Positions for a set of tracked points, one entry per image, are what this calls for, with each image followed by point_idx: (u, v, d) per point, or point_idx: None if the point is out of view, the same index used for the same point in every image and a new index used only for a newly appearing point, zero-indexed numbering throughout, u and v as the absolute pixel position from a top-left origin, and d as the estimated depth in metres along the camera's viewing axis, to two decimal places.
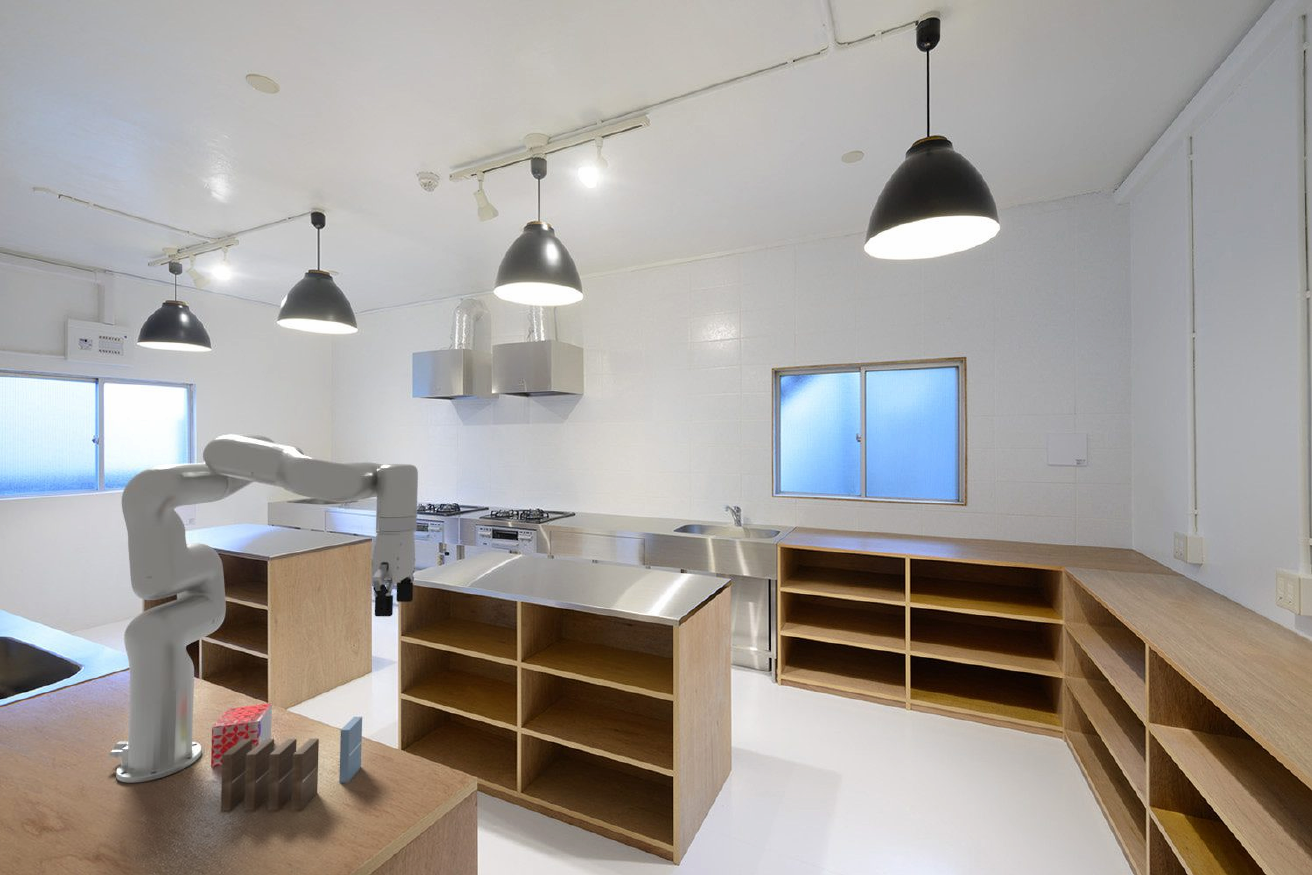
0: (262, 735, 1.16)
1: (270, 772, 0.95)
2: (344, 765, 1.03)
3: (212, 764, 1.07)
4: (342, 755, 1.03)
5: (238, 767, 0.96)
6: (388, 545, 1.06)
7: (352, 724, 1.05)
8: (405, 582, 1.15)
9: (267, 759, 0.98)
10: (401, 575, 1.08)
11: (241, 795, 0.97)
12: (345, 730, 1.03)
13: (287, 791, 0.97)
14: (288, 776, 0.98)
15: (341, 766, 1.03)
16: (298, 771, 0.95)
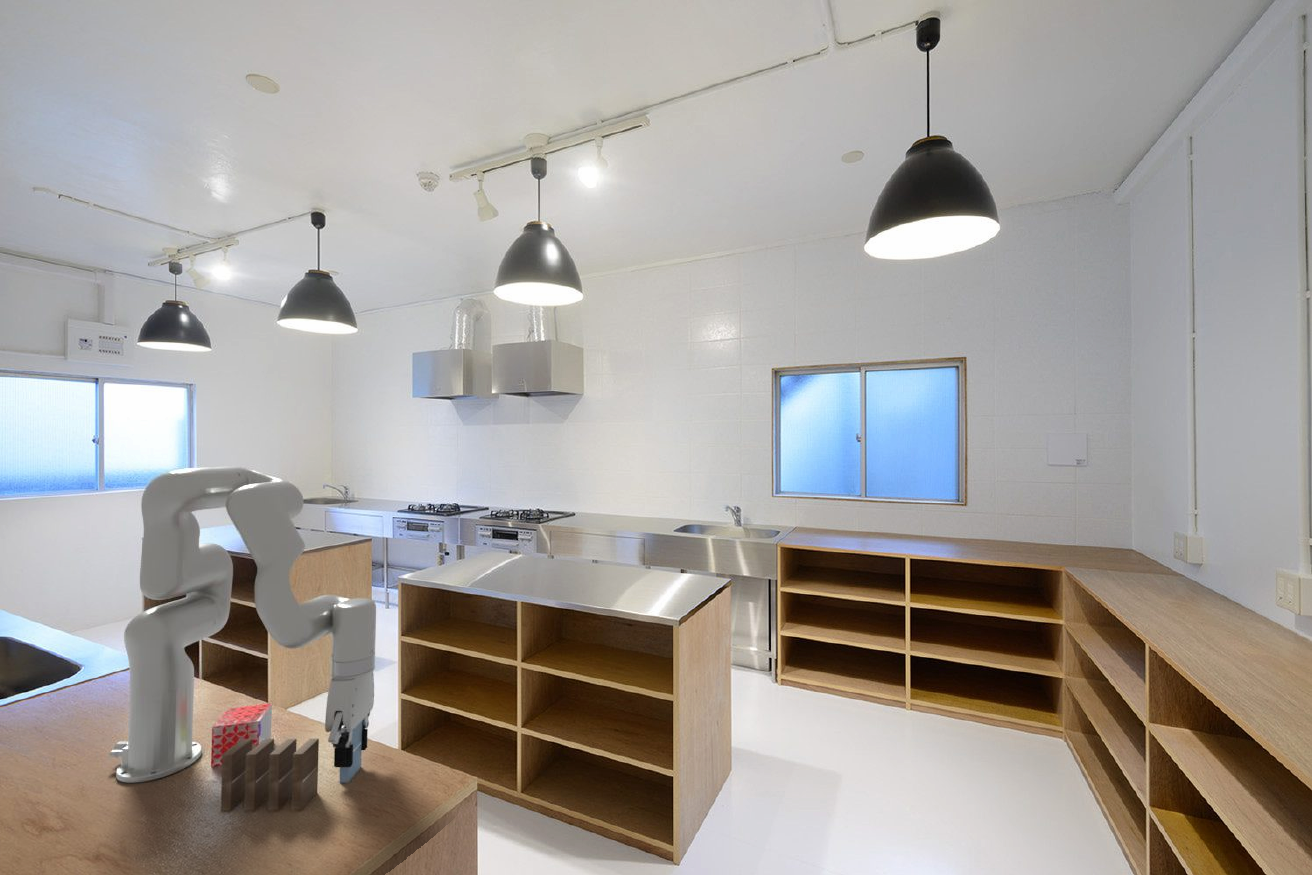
0: (262, 735, 1.16)
1: (270, 772, 0.95)
2: None
3: (212, 764, 1.07)
4: None
5: (238, 767, 0.96)
6: (342, 692, 1.01)
7: None
8: None
9: (267, 759, 0.98)
10: (357, 720, 1.04)
11: (241, 795, 0.97)
12: None
13: (287, 791, 0.97)
14: (288, 776, 0.98)
15: None
16: (298, 771, 0.95)
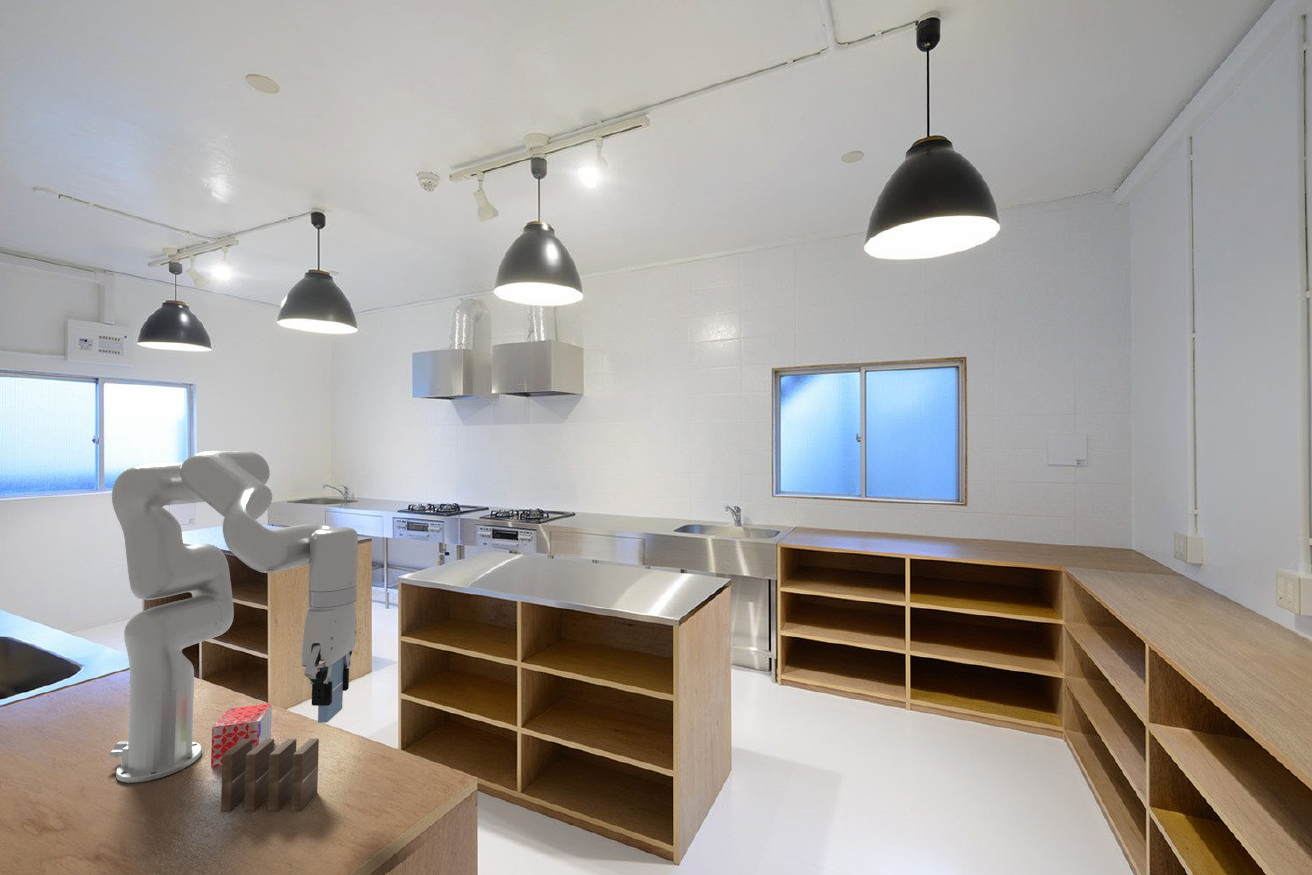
0: (262, 735, 1.16)
1: (270, 772, 0.95)
2: None
3: (212, 764, 1.07)
4: None
5: (238, 767, 0.96)
6: (320, 623, 0.93)
7: None
8: None
9: (267, 759, 0.98)
10: (337, 655, 0.96)
11: (241, 795, 0.97)
12: None
13: (287, 791, 0.97)
14: (288, 776, 0.98)
15: None
16: (298, 771, 0.95)
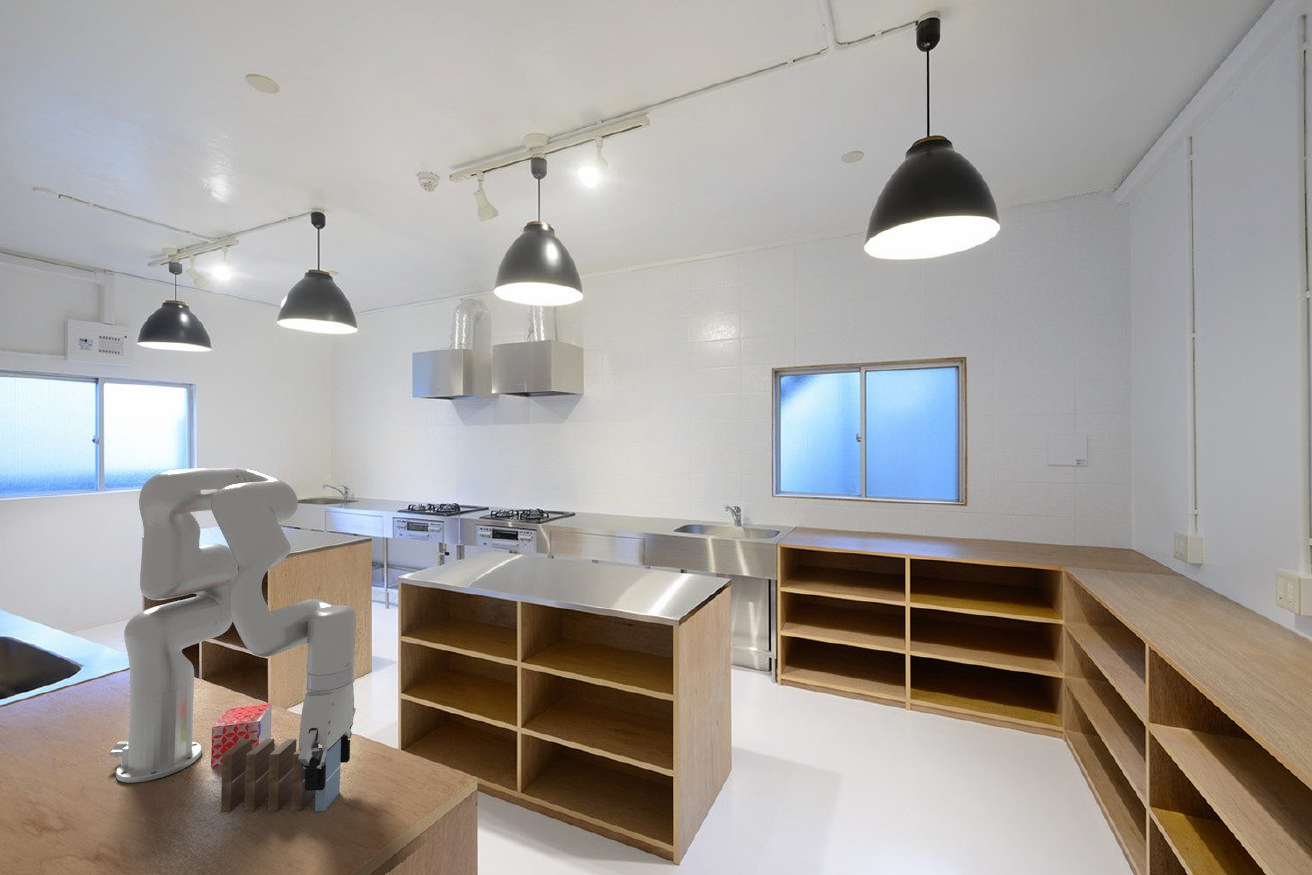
0: (262, 735, 1.16)
1: (270, 772, 0.95)
2: (321, 792, 0.95)
3: (212, 764, 1.07)
4: None
5: (238, 767, 0.96)
6: (318, 708, 0.93)
7: None
8: (341, 740, 1.02)
9: (267, 759, 0.98)
10: (334, 738, 0.96)
11: (241, 795, 0.97)
12: None
13: (287, 791, 0.97)
14: (288, 776, 0.98)
15: (317, 793, 0.95)
16: (298, 771, 0.95)
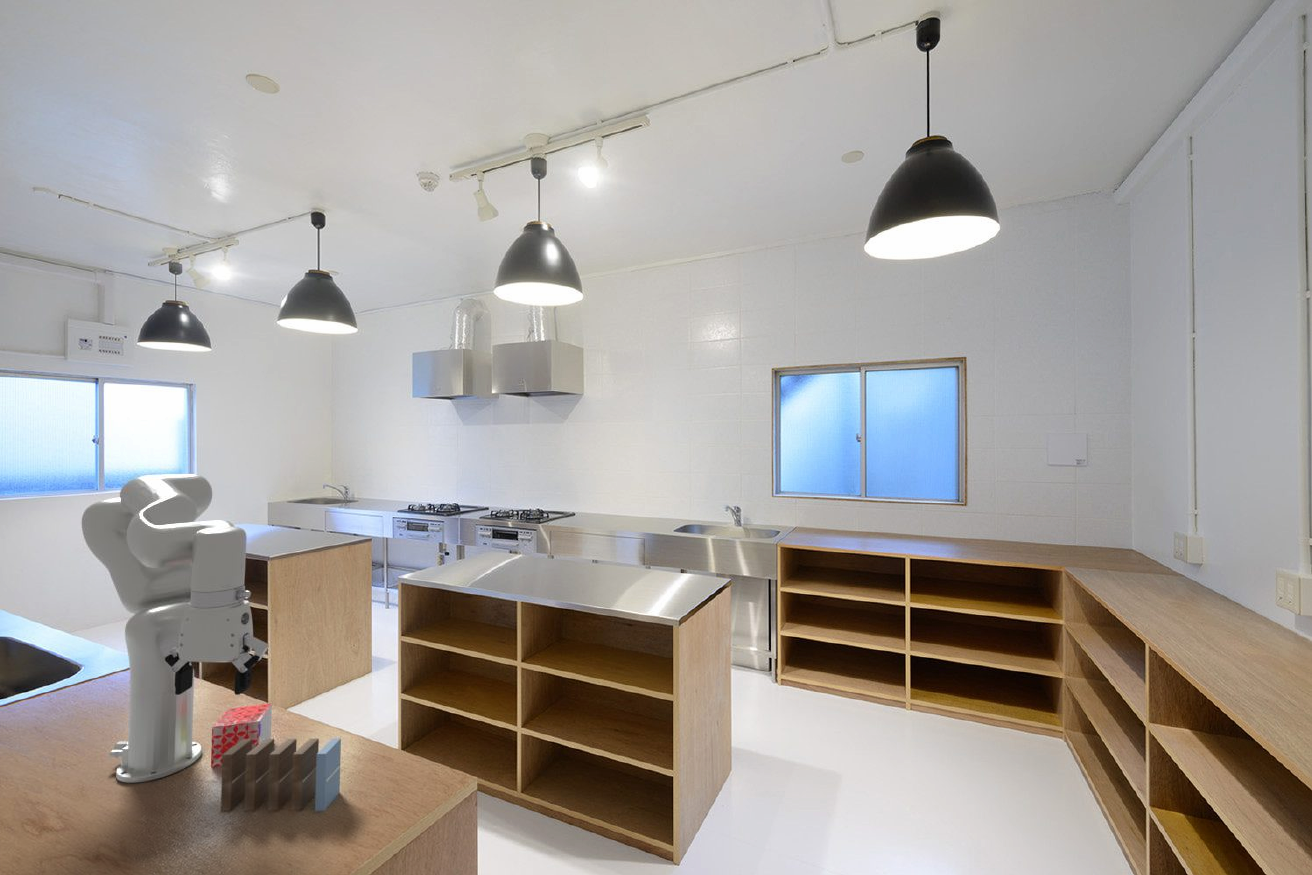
0: (262, 735, 1.16)
1: (270, 772, 0.95)
2: (321, 792, 0.95)
3: (212, 764, 1.07)
4: (318, 781, 0.95)
5: (238, 767, 0.96)
6: None
7: (329, 747, 0.97)
8: None
9: (267, 759, 0.98)
10: (192, 655, 0.95)
11: (241, 795, 0.97)
12: (321, 754, 0.95)
13: (287, 791, 0.97)
14: (288, 776, 0.98)
15: (317, 793, 0.95)
16: (298, 771, 0.95)
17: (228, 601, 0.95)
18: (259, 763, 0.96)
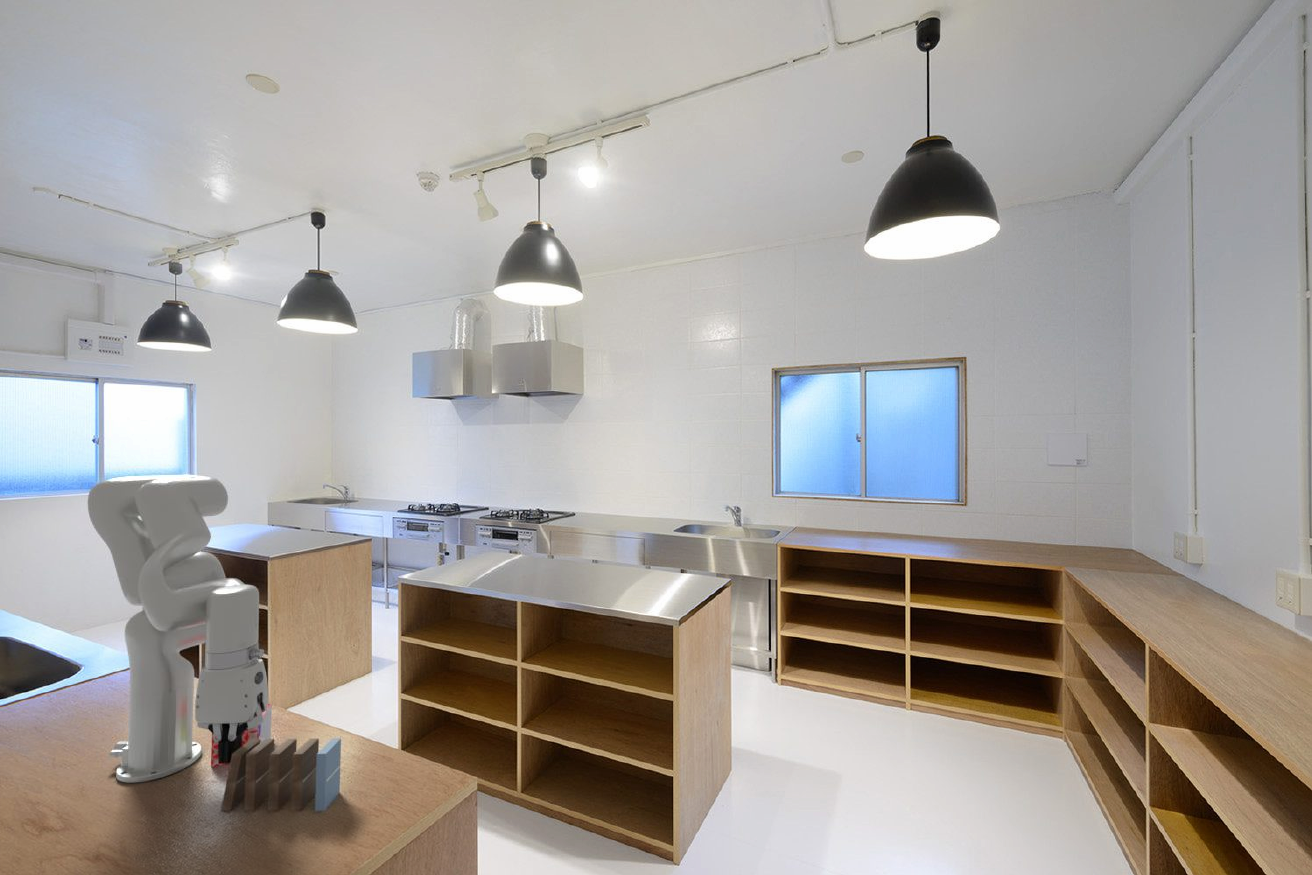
0: (262, 735, 1.16)
1: (270, 772, 0.95)
2: (321, 792, 0.95)
3: (212, 764, 1.07)
4: (319, 781, 0.95)
5: (244, 767, 0.96)
6: None
7: (329, 747, 0.97)
8: None
9: (267, 759, 0.98)
10: (208, 717, 0.95)
11: (242, 795, 0.97)
12: (321, 754, 0.95)
13: (287, 791, 0.97)
14: (288, 776, 0.98)
15: (317, 793, 0.95)
16: (298, 771, 0.95)
17: (241, 661, 0.95)
18: (259, 763, 0.96)
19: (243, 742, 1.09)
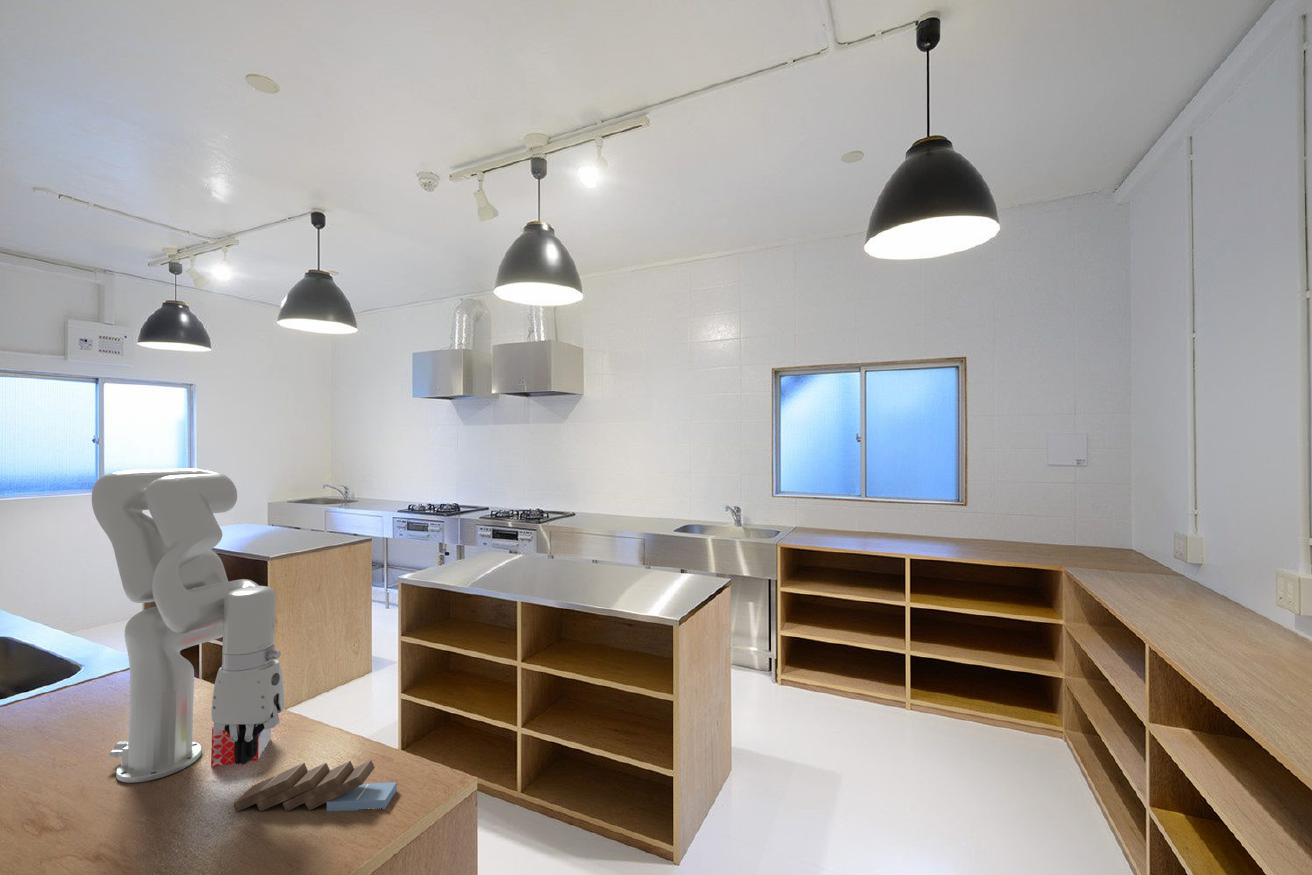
0: (262, 735, 1.16)
1: (319, 786, 0.95)
2: (345, 806, 0.95)
3: (212, 764, 1.07)
4: (356, 803, 0.96)
5: None
6: None
7: (389, 799, 0.98)
8: None
9: None
10: (225, 718, 0.95)
11: None
12: (384, 804, 0.96)
13: None
14: None
15: (344, 803, 0.95)
16: (344, 789, 0.95)
17: (258, 663, 0.95)
18: None
19: None
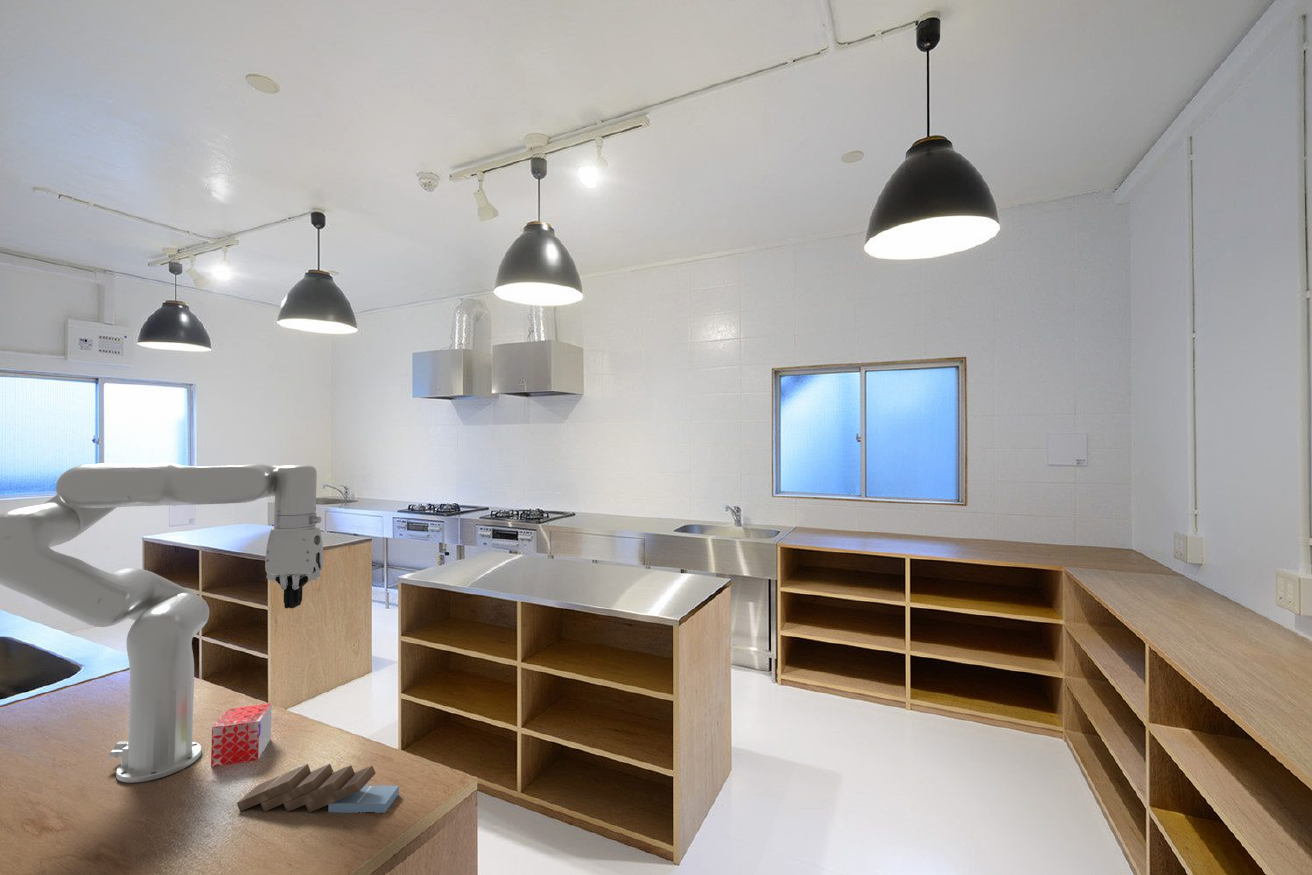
0: (261, 735, 1.16)
1: (317, 790, 0.94)
2: (346, 808, 0.95)
3: (212, 764, 1.07)
4: (357, 806, 0.95)
5: None
6: None
7: (390, 803, 0.97)
8: None
9: None
10: (276, 569, 1.15)
11: None
12: (384, 808, 0.95)
13: None
14: None
15: (345, 805, 0.95)
16: (342, 795, 0.94)
17: (304, 524, 1.15)
18: None
19: (243, 742, 1.09)
